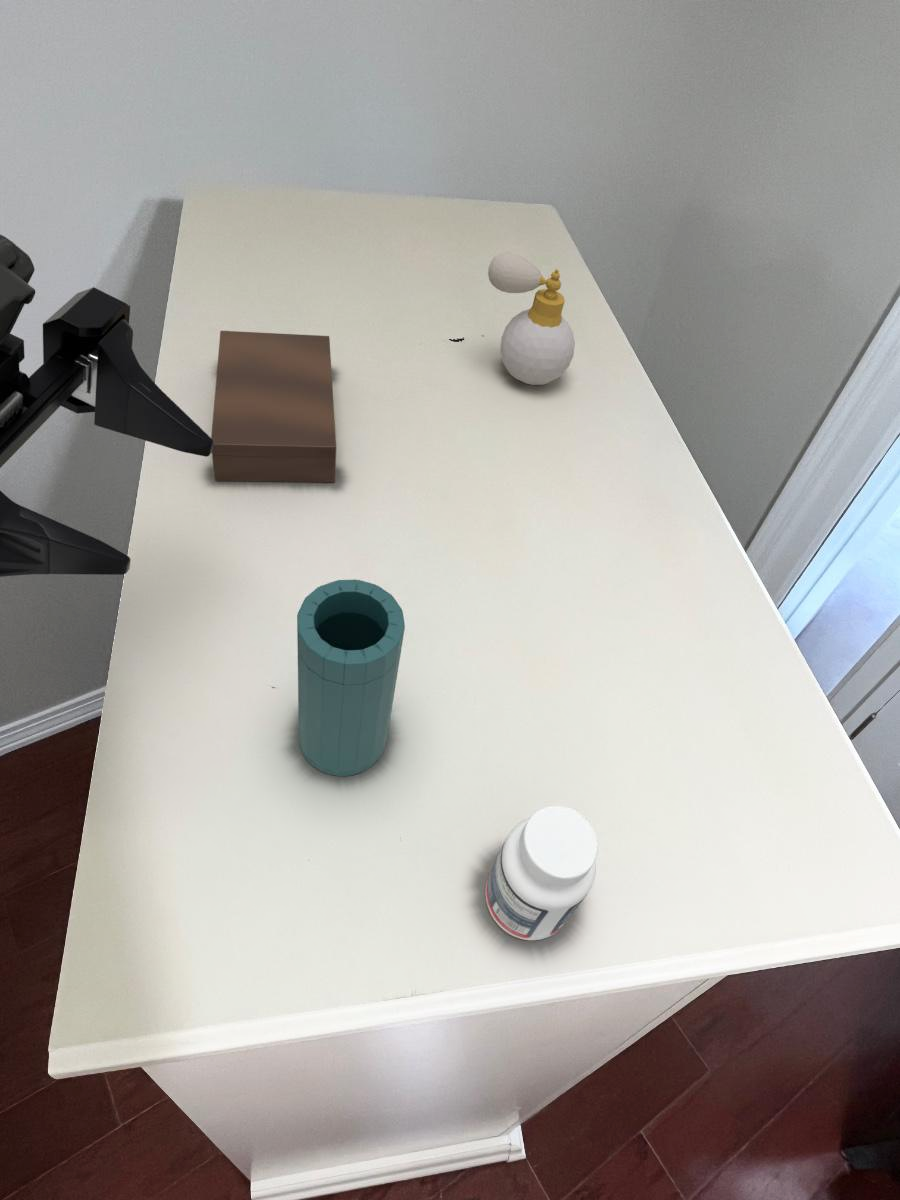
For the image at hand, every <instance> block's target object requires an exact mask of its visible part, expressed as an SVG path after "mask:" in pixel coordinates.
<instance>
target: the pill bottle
mask: <svg viewBox="0 0 900 1200" xmlns="http://www.w3.org/2000/svg"><path fill="white" fill-rule="evenodd" d="M598 844H599V843H598V839H597V833H596V832H595V829H594V827H593V826H592V825H591V823H590V821H588V820H587V818H586V817H585V816H584V815H582V814H581V813H580V812H578V811H577V810H575V809H573V808H571V807H567V806H564V805H549V806H548V805H547V806H544V807H542V808H540V809H538V810H537V811H534V813H533V814H532V815H531V816H530V817H528V818H526V819H523V820H521V821H520V822H518V823H517V824H516V825H515V826H514V827H513V828H512V829H511V830H510V832H509V833H508V835H507V836H506V838H505V840H504V841H503V844H502V846H501V849H500V850H499V852H498V854H497V857H496V859H495V861H494V863H493V865H492V867H491V868H490V871H489V873H488V877H487V880H486V883H485V901H486V905H487V908H488V911H489V913H490V916H491V918H492V919H493V920H494V922H495V923H496V924H497V925H498V926H499V928H501V929H502V930H503V931H504V932H506V933H507V934H509V935H510V936H512V937H514V938H516V939H517V938H518V939H521V940H525V941H538V940H544V939H547V938H549V937H551V936H553V935H555V934H556V933H557V932H558V931H560V930H561V929H562V928H563V927H564V926H565V924H566V922H567V921H568V920H569V919H570V918H571V917H572V915H573V914H574V913H575V911H576V910H577V909H578V907H579V906H580V905H581V903H582V902H583V901H584V899H585V898H586V897H587V896H588V894H589V893H590V890H591V889H592V887H593V885H594V881H595V878H596V873H597V862H596V860H597V856H598V851H599V845H598Z"/></svg>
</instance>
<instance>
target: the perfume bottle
mask: <svg viewBox="0 0 900 1200" xmlns="http://www.w3.org/2000/svg"><path fill="white" fill-rule="evenodd" d="M559 272H560V270H559V269H558V268H554V271H553V272H551V274H550V277H549V278H547V279H546V278H544V276H543V274H542V273H541V271H540V269H539V268H538V267H537V266H536V265H535V264H534V263H533V262H532V261H530V260H529V259H527V258H526V257H525V256H522V255H520V254H518V253H514V252H501V253H498V254H497V255H495V256H494V257H493V258H492V260H490V263H489V265H488V271H487V277H488V280H489V282H490V284H491V285H492V286H493V287H494V288H495V289H496V290H499V292H503V293H506V294H507V293H508V294H522V293H524V294H525V293H528V292H532V291H533V290H536V289H537V288H540V287H541V286H543V285H545V287H546V288H541V289H538V290H537V291H536V292H535V293H534V298H533V302H532V306H531V307H530V308H527V309H525V310H522V311H521V312H519V313H517V314H516V315H515V316H513V317H512V318H511V319H510V320H509V322H508V323H507V325H506V326H505V327H504V330H503V333H502V335H501V338H500V347H499V348H500V349H499V351H500V357H501V360H502V363H503V365H504V368H506V369H505V370H506V371H507V372H508V373H509V374H510V375H511V376H512V377H513V378H514V379H516V380H518V381H520V382H522V383H524V384H527V385H532V386H539V385H541V386H542V385H546V384H549V383H551V382H554V381H555V380H557V379H559V378H560V377H562V375H563V374H564V373H565V372H566V370H567V369H568V368H569V367H570V366H571V365H570V364H571V362H572V360H573V358H574V354H575V346H576V341H575V337H574V332H573V330H572V328H571V326H570V324H569V322H568V321H567V320H566V319H565V318H564V317H563V316H562V313H563V309H564V305H565V296H564V295H563V294H562V293H560V292H559V290H560V289H561V287H562V282H561V281H560V278H561V274H560V273H559Z"/></svg>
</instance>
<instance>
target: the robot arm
mask: <svg viewBox="0 0 900 1200" xmlns="http://www.w3.org/2000/svg"><path fill="white" fill-rule="evenodd" d="M35 270H36V269H35V265H34V263H33V261H32V258H31V257H30V255H29V254H27V253H26V252H25V251H24V250H23V249H21V248H20V247H19V246H18V245H16V243H14V242H13V241H12V240H10V239H9V238H8V237H6V236H5V235H2V234H0V469H1V468H2V467H3V466H5V464H6V463H7V462H8V461H9V460H10V459H11V458H12V457H13V456H14V455H15V454H16V453H17V452H18V450H19V449H21V447H22V446H24V444H25V443H26V442H27V441H28V440H29V439H30V438H31V437H32V436H33V435H34V434H35V433H36V432H37V431H38V430H39V429H40V428H41V427H42V426H43V425H44V424H45V423H46V422H47V420H49V419H50V418H51V416H52V415H53V414H54V413H55V412H56V411H58V409H60V407H63V408H65V409H67V410H69V411H71V412H73V413H75V414H87V413H94V419H93V424H94V426H96V427H98V428H99V427H100V428H103V429H105V430H109V431H112V432H116V433H119V434H122V435H126V436H130V437H133V438H136V439H139V440H142V441H146V442H148V443H152V444H155V445H159V446H163V447H165V448H169V449H172V450H175V451H177V452H182V453H185V454H191V455H196V456H199V457H200V456H201V457H206V458H208V457H210V456H211V455H212V449H213V445H214V442H213V440H212V439H211V436H210V435H209V434H208V433H206V431H204V430H203V428H202V427H200V426H199V425H198V424H197V423H196V422H195V421H194V420H193V419H192V418H191V417H190V416H189V415H188V414H187V413H186V412H185V411H184V410H183V409H182V408H181V407H180V406H179V405H177V404H176V403H175V402H174V401H173V400H172V399H171V398H170V397H169V396H168V395H167V394H166V393H165V392H164V391H163V390H162V389H161V388H160V387H159V386H158V385H157V383H155V382H154V381H153V379H152V378H151V377H150V376H149V374H148V373H147V372H146V371H145V370H144V369H143V367H142V366H141V365H140V363H139V361H138V359H137V357H136V354H135V352H134V350H133V340H134V329H133V327H132V326H131V325H130V317H131V306H130V305H129V304H128V303H126V302H125V301H123V300H120V299H118V298H116V297H114V296H113V295H110V294H108V293H106V292H104V291H103V290H100V289H98V288H96V287H94V286H92V287H90V288H87V289H85V290H82V291H79V292H77V293H76V294H74V295H73V296H72V297H71V298H69V300H68V301H67V302H66V303H64V304H63V305H62V306H61V307H60V308H59V309H58V310H57V311H55V312H54V313H53V314H52V315H51V316H50V317H49V318H48V319H46V321H44V322H43V323H42V359H43V360H42V365H40V366H39V367H38V368H37V369H36V370H35V371H34V372H33V373H32V374H31V375H29V376H28V374H27V373H25V372H23V371H21V370H20V363H21V362H22V361H23V360H24V359H25V340H24V339H22V338H20V337H18V336H16V335H15V334H12V333H11V332H12V330H13V328H14V327H15V325H16V323H17V321H18V319H19V316H20V315H21V312H22V311H23V309H24V307H25V305H29V304H31V302H32V301H33V300H34V297H35V296H36V289H35V288H34V287H32V286H31V285H30V283H29V282H30V281H31V279H32V276H33V275H34V273H35ZM130 569H131V558H130V557H129V556H128V555H127V554H125V553H123V552H122V551H120V550H118V549H117V548H115V547H113V546H111V545H110V544H108V543H106V542H104V541H102V540H100V539H98V538H96V537H94V536H91V535H89V534H87V533H84V532H82V531H80V530H78V529H75V528H73V527H71V526H68V525H67V524H64V523H62V522H59V521H57V520H56V519H52V518H50V517H48V516H46V515H44V514H41V513H39V512H36V511H34V510H32V509H29V508H28V507H26V506H23V505H20V504H18V503H16V502H15V501H13V500H12V499H10V497H8V496H7V495H6V494H5V493H4V492H3V491H1V490H0V578H3V577H16V576H26V575H99V576H101V575H103V576H104V575H111V576H112V575H114V576H115V575H116V576H119V575H120V576H122V575H123V576H124V575H126V574H127V573H128V572H129V570H130Z"/></svg>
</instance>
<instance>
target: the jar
mask: <svg viewBox="0 0 900 1200" xmlns="http://www.w3.org/2000/svg"><path fill="white" fill-rule="evenodd" d="M296 628H297V629H296V632H297V633H296V634H297V635H296V637H297V638H296V639H297V641H296V643H297V700H298V701H297V704H298V707H297V710H298V717H297V718H298V742H299V743H298V744H299V747H300V750H301V753H302V755H303V756H304V758H305V760H306V761H307V762H308V763H309V764H310V765H311V766H312V767H314V768H315V769H317V770H318V771H320V772H322V773H325V774H327V775H330V776H335V777H348V776H353V775H358V774H360V773H363V772H365V771H366V770H368V769H370V768H371V767H373V765H375V763H377V762H378V760H379V759H380V758H381V756H382V755H383V753H384V750H385V746H386V743H387V739H388V734H389V728H390V722H391V716H392V710H393V704H394V698H395V692H396V684H397V679H398V672H399V667H400V662H401V661H400V660H401V656H402V655H401V653H402V647H403V640H404V636H405V630H406V625H405V616H404V612H403V609H402V607H401V606H400V604H399V603H398V602H397V600H396V598H395V597H394V595H392V594H391V593H390V592H388V591H387V590H385V589H383V588H382V587H381V586H380V585H378V584H375V583H371V582H369V581H364V580H360V579H338V580H334V581H331V582H328V583H325V584H323V585H320V586H317V587H316V588H315V589H314V590H312V591H311V592H310V593H309V594H308V595H307V596H305V598H304V599H303V601H302V603H301V605H300V608H299V609H298V612H297V615H296Z"/></svg>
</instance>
